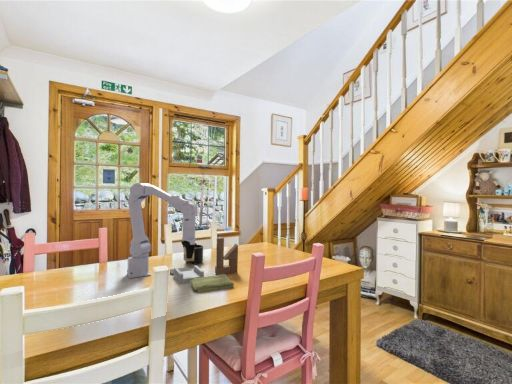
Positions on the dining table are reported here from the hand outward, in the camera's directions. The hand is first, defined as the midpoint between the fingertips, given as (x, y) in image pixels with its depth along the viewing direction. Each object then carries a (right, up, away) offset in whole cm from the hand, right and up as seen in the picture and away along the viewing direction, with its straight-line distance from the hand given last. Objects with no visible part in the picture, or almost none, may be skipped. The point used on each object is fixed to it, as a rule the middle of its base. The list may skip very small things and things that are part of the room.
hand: (188, 257), depth 134 cm
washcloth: (+12, -11, -9) cm, 19 cm away
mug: (-3, -10, +26) cm, 28 cm away
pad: (-6, -10, +9) cm, 15 cm away
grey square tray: (0, -10, 0) cm, 10 cm away
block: (0, -1, 0) cm, 1 cm away
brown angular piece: (+17, -10, +9) cm, 22 cm away
